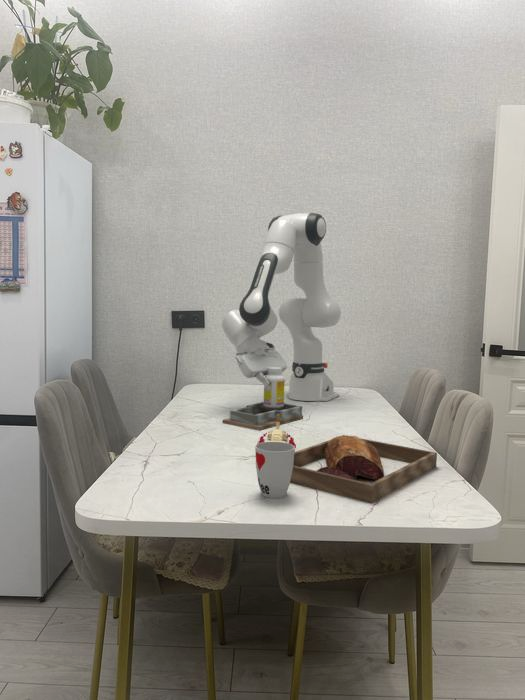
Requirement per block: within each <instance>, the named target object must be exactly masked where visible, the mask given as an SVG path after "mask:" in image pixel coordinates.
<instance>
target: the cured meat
mask: <svg viewBox="0 0 525 700" xmlns="http://www.w3.org/2000/svg"><path fill="white" fill-rule="evenodd" d="M360 438H361V437H357V436H356V435H345V436H343V435H339V436H335V437H333V438H331V439H329V440H330V441H329V442H328V447H327V448H325V456H326V457H325V458H326V459H325V460H326V461H325V462H326V466H323V467H321V468H318V469H316V471H319V472H323V473H327V474H331V475H335V476H340V477H344V478H348V479H352V480H357V481H359V479H357V478H358V477H357V476H361V477H364V478H367V479H371V480H372V479H373V480H374V482H375V481H377V480H379V479H381V478H383V477H385V471H384V467H383V462H382V460H381V457H380V456H379V453H378V451H377V450H376V449H375V447H374V446H373V445H371V444H370V443H368V442H366V441H364V440H362V439H363V438H361V439H360Z"/></svg>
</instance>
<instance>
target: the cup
mask: <svg viewBox="0 0 525 700" xmlns="http://www.w3.org/2000/svg"><path fill="white" fill-rule="evenodd" d="M254 447H255V468H256V470H255V471H256V475H257V477H256V478H257V482H258V486H259V489H260V493H261V496H263V497H264V498H265V497H266V498H270V499H279V498H284V497H285V496H286V495H287V493H288V489H289V487H290V484H291V482H290V480H291V475H292V470H293V462H294V451H295V452H296V448H295V446H293V445H292V444H289V442H285V443H284V442H267V441H264V442H262V443H259V444H257V443H256V444H255V445H254Z"/></svg>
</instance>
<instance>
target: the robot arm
mask: <svg viewBox="0 0 525 700" xmlns="http://www.w3.org/2000/svg"><path fill="white" fill-rule="evenodd" d="M326 224H327V223H326V221H325V218H324V217H323V216H322V215H321V214H320V213H316V212H315V213H314V212H310V213H307V212H306V213H304V212H299V213H298V212H297V213H293V214H292V213H291V214H286V215H277V216H275V217H273V218H272V219H271V220H270V222H269V224H268V229H267V233H266V236H265V239H264V242H263V245H262V250H261V254H260V258H259V260H258V261H259V262H258V264H257V267H256V269H255V272H254V275H253V279H252V281H251V285H250V288H249V290H248V291H247V292H246V293H247V294H245V296H244V297H243V298H242V299H241V302H240V304H239V306H238V307H239V308H238V309H232V310H230V311H228V312H227V313H226V314H225V315H224V317H223V318H222V322H221V326H222V330H223V332H224V334H225V335H226V337H227V339H228V340H229V342H230V343H231V345H233V346H234V347H235V349H236V351H237V352H236V353H235V355H234V358H235V360H236V363H237V366H238V368H239V369H240V371H241V373H242V375H243V376H244V377H245V378H246V379H251V378H256V380H258V381H259V382H260V383H262V384H263V386H269V385H270V384H271V382H270V381H269V379H266V378H265V376H266V375H268V371H267V370H268V367H280V368H282V372H281V375H282V376H283V377H284V374H283V372H285V371H286V369H287V368H288V364H287V362H286V361H285V359H284V358H283V356H282V355H281V354H280V352H279V351H278V350H276V345H274V343H271V342H267V341H265V340H263V339H261V337H265V335H267V334H269V333H271V332H273V330H274V329H275V328H276V326H277V323H278V317H277V315H276V313H275V311H274V309H273V308H272V306H271V305H270V302H269V301H270V300H269V294H270V290H271V288H272V284H273V281H274V277H275V276H276V274H277V275H279V274H282V273H285V272H286V271H288V270H289V269H290V266H291V264H292V261H293V281H294V283H295V285H296V287H298V288H300V289H301V290H302V291H303V293H304V294H305V297H306V298H303V297H302V298H301V297H300V298H299V297H298V298H297V297H293V298H289V299H285V300H283V301H282V302H281V304H280V305H279V308H278V316H279V319H280V321H281V322H282V323H283V324H284V325H285V326H286V328H287V329H288V331H289V333H290V336H291V338H292V343H293V344H292V345H293V362H292V365H291V367H292V369H291V371H292V374H291V375H290V377H289V378H290V379H289V386H288V392H286V396H287V397H288V399H291V400H294V401H302V402H303V401H305V402H329V401H331V400H333V399H336V398H337V397H339V396H340V393H339V392H335V390H334V381H333V380H332V379H331V378H330V377H329V376H328V375H327V374H326V372H325V369H328V366H329V364H328V363H326V362H323V343H322V341H321V340H320V338H318V337H316V336H315V335H314V333H313V331H312V328H323V329H324V328H329V327H333V326H336V325H337V324H338V322H339V321H340V318H341V308H340V305H339V304H338V302H337V301H335V300H334V299H333V297H331V295H330V294H329V292H328V291H327V287H326V285H325V281H324V280H325V279H324V261H323V260H324V259H323V257H324V256H323V248H322V241H323V239H324V238H325V236H326V233H327V225H326ZM285 382H286V379H285V378H284V383H285Z"/></svg>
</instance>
